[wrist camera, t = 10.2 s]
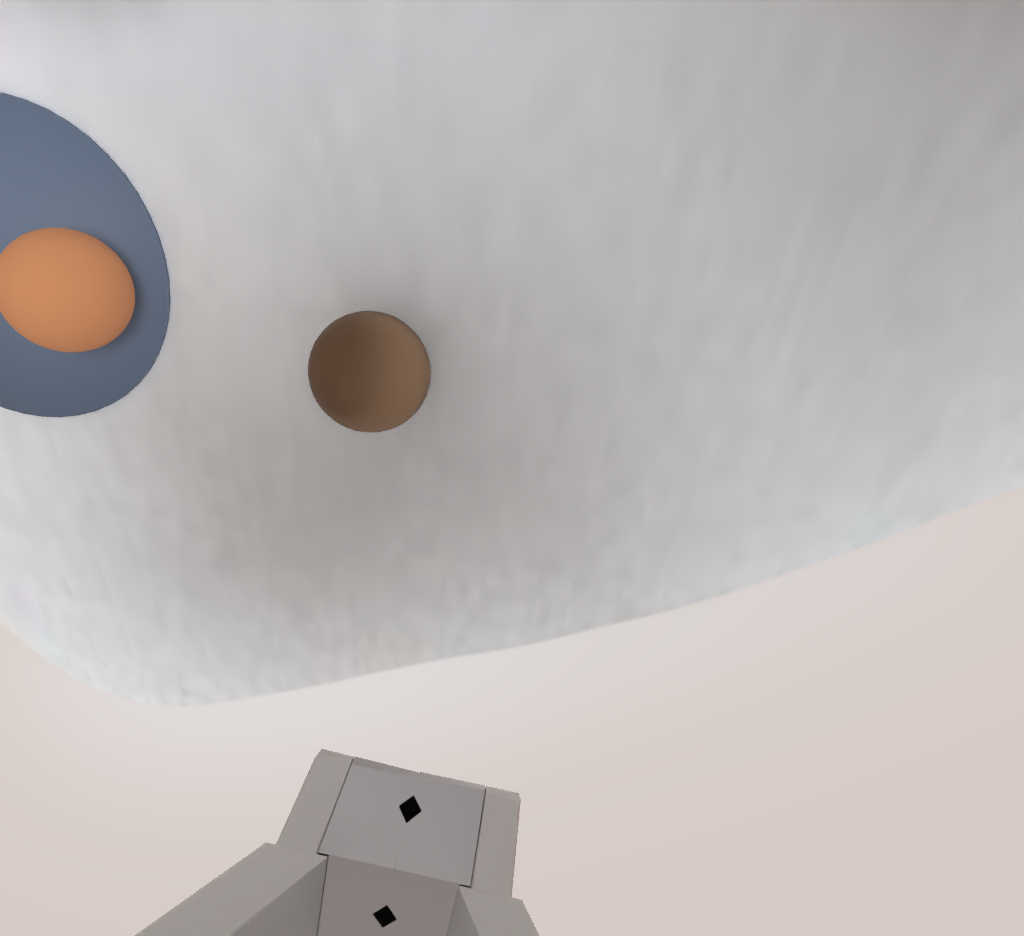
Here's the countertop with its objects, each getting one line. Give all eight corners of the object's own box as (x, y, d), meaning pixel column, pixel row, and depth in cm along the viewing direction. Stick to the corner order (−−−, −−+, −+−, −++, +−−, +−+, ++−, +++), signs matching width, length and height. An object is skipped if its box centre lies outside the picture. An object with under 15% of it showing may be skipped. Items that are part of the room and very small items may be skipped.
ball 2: (284, 310, 27) (349, 292, 32) (282, 432, 29) (344, 399, 34) (404, 338, 26) (454, 315, 31) (393, 461, 28) (442, 424, 33)
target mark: (171, 130, 29) (169, 129, 29) (168, 443, 35) (166, 444, 35) (-166, 56, 29) (-171, 55, 29) (-116, 381, 35) (-119, 382, 34)
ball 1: (-46, 216, 26) (51, 210, 31) (-37, 346, 28) (53, 322, 33) (83, 251, 26) (161, 240, 31) (83, 379, 28) (157, 351, 33)
